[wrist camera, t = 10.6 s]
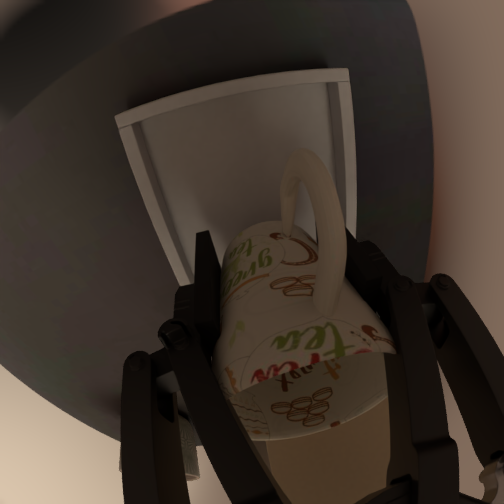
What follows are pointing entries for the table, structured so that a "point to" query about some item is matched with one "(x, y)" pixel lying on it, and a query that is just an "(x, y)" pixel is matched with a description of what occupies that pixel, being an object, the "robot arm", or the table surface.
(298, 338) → the mug
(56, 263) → the table surface
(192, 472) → the planter
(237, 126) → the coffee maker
